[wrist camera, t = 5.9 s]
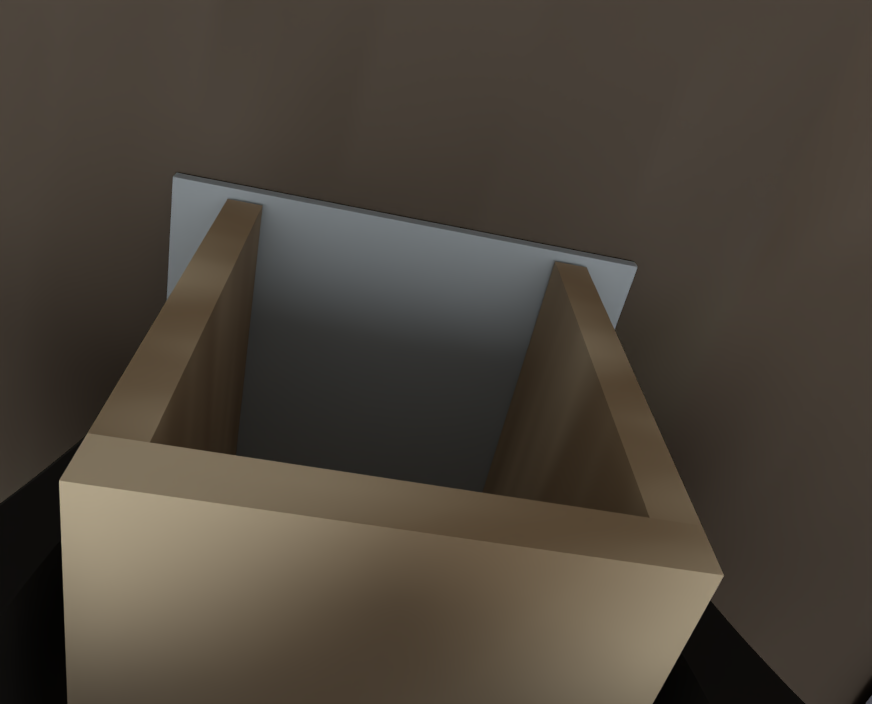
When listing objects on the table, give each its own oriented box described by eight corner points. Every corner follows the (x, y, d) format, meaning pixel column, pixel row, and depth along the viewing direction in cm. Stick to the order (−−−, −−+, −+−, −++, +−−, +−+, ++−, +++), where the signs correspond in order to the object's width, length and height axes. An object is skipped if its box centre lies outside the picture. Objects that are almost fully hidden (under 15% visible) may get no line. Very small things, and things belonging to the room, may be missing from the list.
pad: (634, 262, 12) (637, 266, 12) (517, 581, 16) (518, 588, 15) (176, 172, 11) (172, 176, 11) (157, 531, 15) (154, 539, 15)
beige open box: (586, 267, 12) (724, 575, 7) (490, 550, 15) (531, 920, 10) (227, 198, 11) (59, 481, 6) (201, 509, 14) (73, 883, 9)
